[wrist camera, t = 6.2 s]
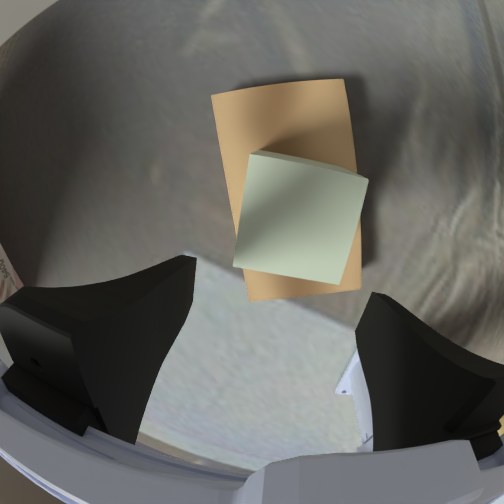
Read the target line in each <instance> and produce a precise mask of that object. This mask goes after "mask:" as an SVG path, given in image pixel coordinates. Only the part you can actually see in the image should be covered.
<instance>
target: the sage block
mask: <svg viewBox="0 0 504 504" xmlns="http://www.w3.org/2000/svg"><path fill="white" fill-rule="evenodd" d="M368 181H369V179H367V178H365V177H363V176H361V175H358V174H356V173H354V172H352V171H350V170H347V169H345V168H343V167H341V166H336V165H332V164H328V163H324V162H319V161H315V160H310V159H305V158H300V157H295V156H290V155H285V154H280V153H274V152H268V151H262V150H257V151H255V152H253V153H251V154H250V155H249V161H248V167H247V174H246V180H245V186H244V193H243V199H242V206H241V213H240V219H239V226H238V233H237V239H236V246H235V253H234V260H233V266H234V267H239V268H244V269H250V270H255V271H261V272H267V273H272V274H278V275H284V276H289V277H295V278H301V279H307V280H312V281H318V282H324V283H330V284H336V285H339V284H340V281H341V278H342V275H343V272H344V269H345V266H346V262H347V259H348V256H349V253H350V249H351V246H352V243H353V239H354V236H355V232H356V228H357V225H358V221H359V217H360V214H361V210H362V206H363V202H364V198H365V194H366V190H367V186H368Z"/></svg>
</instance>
